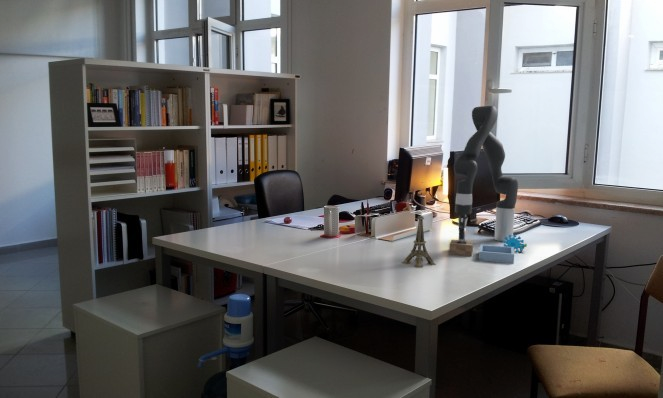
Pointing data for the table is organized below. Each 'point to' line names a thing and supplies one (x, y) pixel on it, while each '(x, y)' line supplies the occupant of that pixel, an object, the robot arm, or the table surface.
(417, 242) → the eiffel tower
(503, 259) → the tray
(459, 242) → the peg
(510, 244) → the gear
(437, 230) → the table surface
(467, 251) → the pin block
